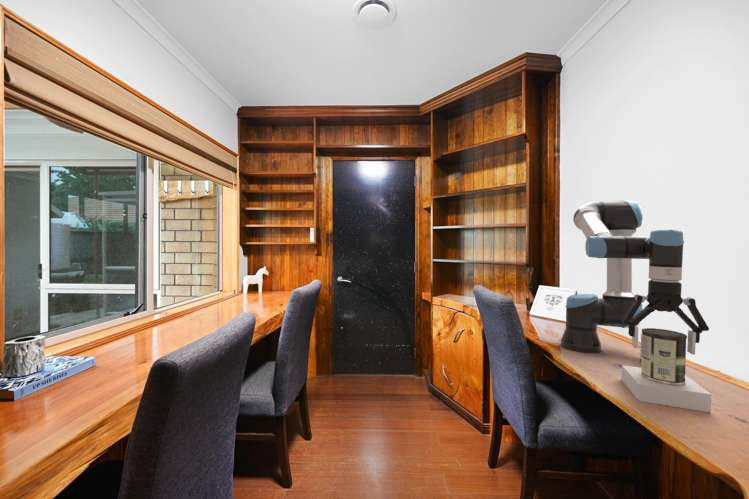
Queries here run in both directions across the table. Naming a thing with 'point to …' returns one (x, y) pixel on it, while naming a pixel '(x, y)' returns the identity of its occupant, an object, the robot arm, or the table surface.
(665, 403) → the base
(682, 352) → the coffee can
